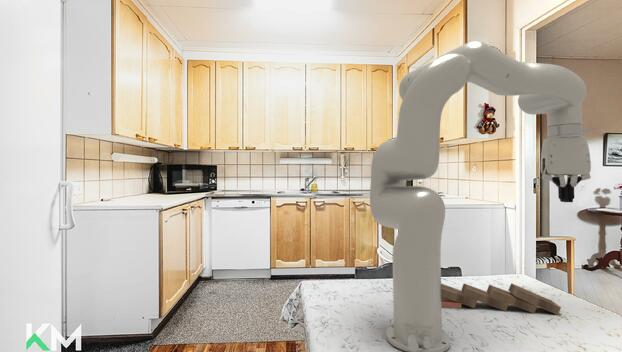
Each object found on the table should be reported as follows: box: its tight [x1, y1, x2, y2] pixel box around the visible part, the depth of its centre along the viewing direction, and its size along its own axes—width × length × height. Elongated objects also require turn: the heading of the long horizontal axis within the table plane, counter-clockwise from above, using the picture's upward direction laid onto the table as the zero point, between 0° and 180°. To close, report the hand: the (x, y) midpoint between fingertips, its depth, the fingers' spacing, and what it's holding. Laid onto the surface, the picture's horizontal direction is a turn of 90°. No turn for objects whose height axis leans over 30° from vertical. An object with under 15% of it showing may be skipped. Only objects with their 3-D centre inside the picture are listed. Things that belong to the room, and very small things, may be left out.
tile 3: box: [461, 283, 510, 312], centre depth 87 cm, size 5×2×10 cm
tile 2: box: [486, 284, 538, 314], centre depth 86 cm, size 5×2×10 cm
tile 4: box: [441, 283, 478, 309], centre depth 88 cm, size 5×2×10 cm
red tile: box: [441, 296, 462, 309], centre depth 90 cm, size 5×2×10 cm
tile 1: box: [508, 283, 562, 316], centre depth 84 cm, size 5×2×10 cm
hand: (566, 201), depth 88 cm, fingers closed
